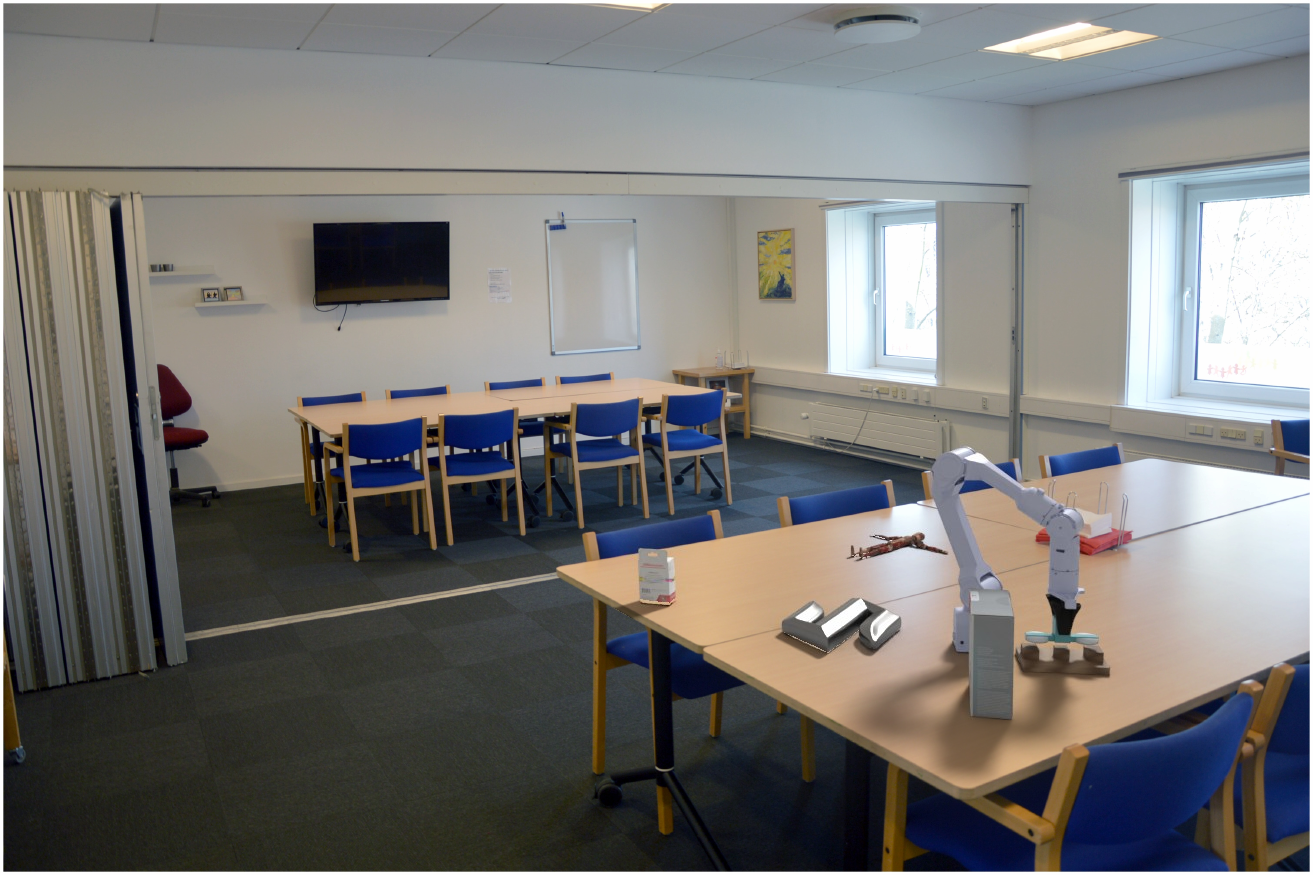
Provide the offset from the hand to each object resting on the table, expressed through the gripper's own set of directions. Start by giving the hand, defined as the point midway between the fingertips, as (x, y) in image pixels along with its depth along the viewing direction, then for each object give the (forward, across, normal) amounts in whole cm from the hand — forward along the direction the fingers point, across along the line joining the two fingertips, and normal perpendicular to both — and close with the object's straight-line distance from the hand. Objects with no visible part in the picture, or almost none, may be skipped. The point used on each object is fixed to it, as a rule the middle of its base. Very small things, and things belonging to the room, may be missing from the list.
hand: (1062, 631), depth 199 cm
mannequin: (+8, +90, +31) cm, 95 cm away
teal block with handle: (+2, 0, 0) cm, 2 cm away
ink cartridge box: (+7, +32, +92) cm, 98 cm away
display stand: (+7, 0, 0) cm, 7 cm away
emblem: (+8, +15, +45) cm, 48 cm away
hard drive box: (+7, -21, +17) cm, 28 cm away
